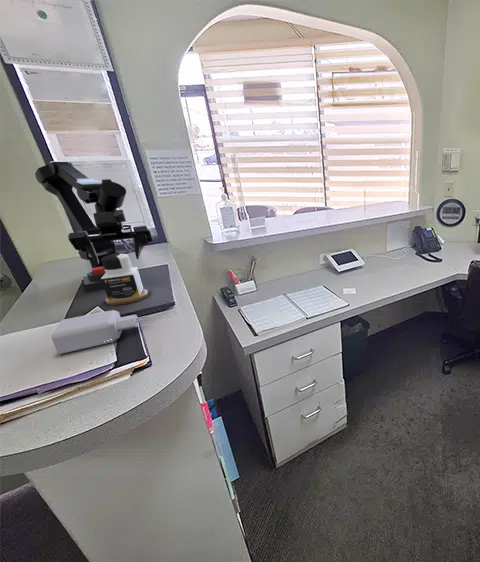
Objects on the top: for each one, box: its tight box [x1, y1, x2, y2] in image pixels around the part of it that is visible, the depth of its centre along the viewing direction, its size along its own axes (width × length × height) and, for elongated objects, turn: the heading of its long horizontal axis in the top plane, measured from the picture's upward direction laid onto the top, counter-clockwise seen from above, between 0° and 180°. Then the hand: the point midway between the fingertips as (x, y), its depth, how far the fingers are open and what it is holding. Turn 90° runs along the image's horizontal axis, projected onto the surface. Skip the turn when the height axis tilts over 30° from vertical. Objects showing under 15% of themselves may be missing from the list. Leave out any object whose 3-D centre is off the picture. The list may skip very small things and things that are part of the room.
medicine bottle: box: [101, 253, 144, 301], centre depth 88 cm, size 7×7×12 cm
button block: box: [82, 271, 106, 292], centre depth 100 cm, size 10×9×4 cm
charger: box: [51, 309, 148, 355], centre depth 69 cm, size 5×9×15 cm
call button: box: [91, 266, 105, 274], centre depth 99 cm, size 4×4×2 cm
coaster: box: [104, 288, 150, 306], centre depth 90 cm, size 10×10×1 cm
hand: (118, 261), depth 90 cm, fingers open, 9 cm apart
